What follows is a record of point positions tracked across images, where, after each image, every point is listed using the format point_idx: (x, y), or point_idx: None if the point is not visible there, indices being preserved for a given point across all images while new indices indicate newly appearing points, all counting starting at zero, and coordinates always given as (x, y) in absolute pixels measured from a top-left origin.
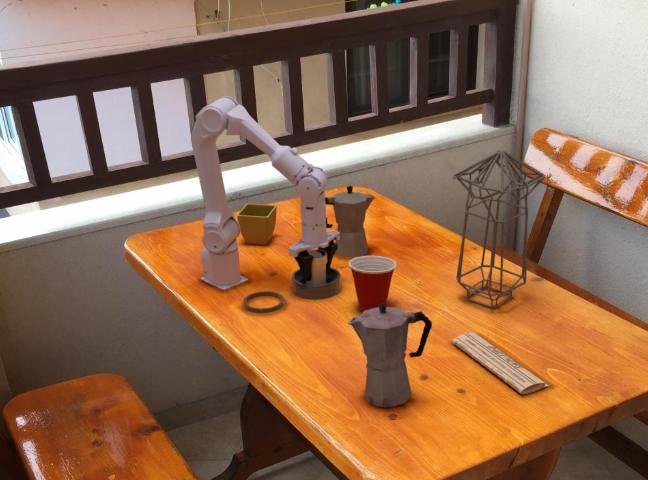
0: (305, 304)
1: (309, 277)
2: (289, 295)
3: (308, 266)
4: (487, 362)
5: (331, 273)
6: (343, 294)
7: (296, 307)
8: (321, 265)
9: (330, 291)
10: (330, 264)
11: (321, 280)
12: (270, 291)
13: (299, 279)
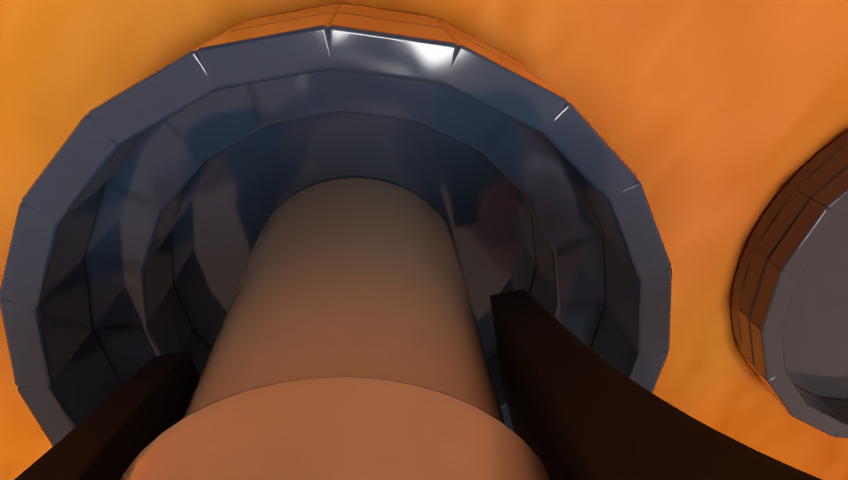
0: (638, 62)
1: (539, 307)
2: None
3: (666, 426)
4: None
5: (104, 381)
6: (139, 14)
7: (751, 58)
8: (340, 379)
9: (328, 12)
10: (76, 432)
11: (350, 238)
12: (781, 397)
13: None
